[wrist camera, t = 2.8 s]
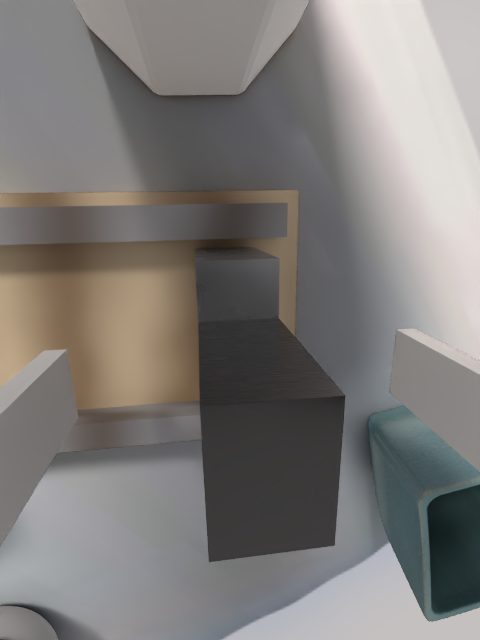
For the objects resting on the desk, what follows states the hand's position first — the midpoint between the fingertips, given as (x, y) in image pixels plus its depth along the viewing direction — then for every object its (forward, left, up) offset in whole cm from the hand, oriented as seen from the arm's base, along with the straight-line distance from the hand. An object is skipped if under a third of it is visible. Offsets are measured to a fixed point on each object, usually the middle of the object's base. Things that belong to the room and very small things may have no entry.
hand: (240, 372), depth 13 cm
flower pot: (+10, +13, -9) cm, 19 cm away
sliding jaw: (0, 0, -6) cm, 6 cm away
